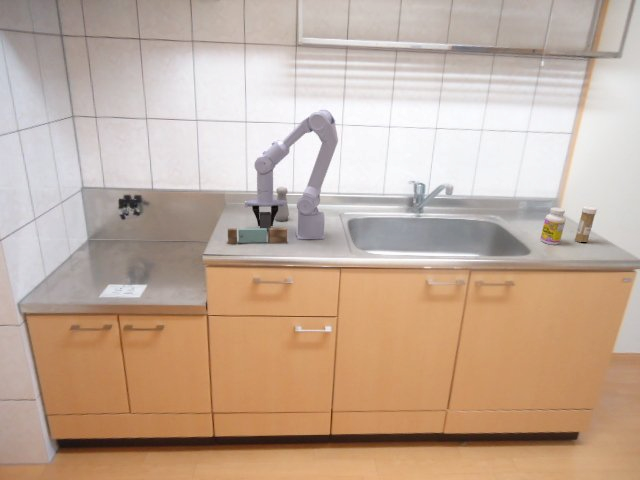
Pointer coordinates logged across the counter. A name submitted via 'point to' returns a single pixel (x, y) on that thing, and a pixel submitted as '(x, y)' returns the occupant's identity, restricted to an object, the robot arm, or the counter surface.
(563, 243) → the counter surface
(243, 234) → the door
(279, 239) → the wall
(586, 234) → the sprinkles bottle
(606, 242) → the counter surface
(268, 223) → the block
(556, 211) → the supplement bottle
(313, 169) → the robot arm
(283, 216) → the salt shaker
